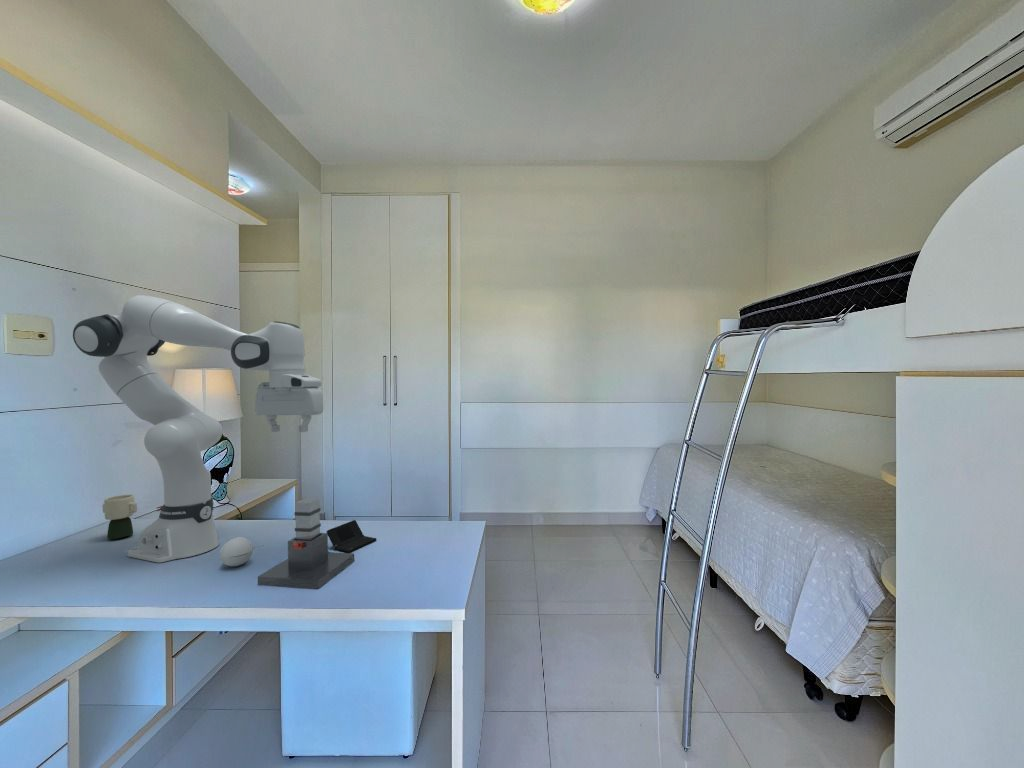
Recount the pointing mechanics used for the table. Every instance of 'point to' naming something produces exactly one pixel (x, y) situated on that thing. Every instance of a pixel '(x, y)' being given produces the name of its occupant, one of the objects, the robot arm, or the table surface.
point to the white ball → (236, 551)
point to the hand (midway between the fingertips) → (289, 431)
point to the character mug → (119, 515)
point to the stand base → (307, 565)
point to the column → (307, 519)
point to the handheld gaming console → (348, 537)
